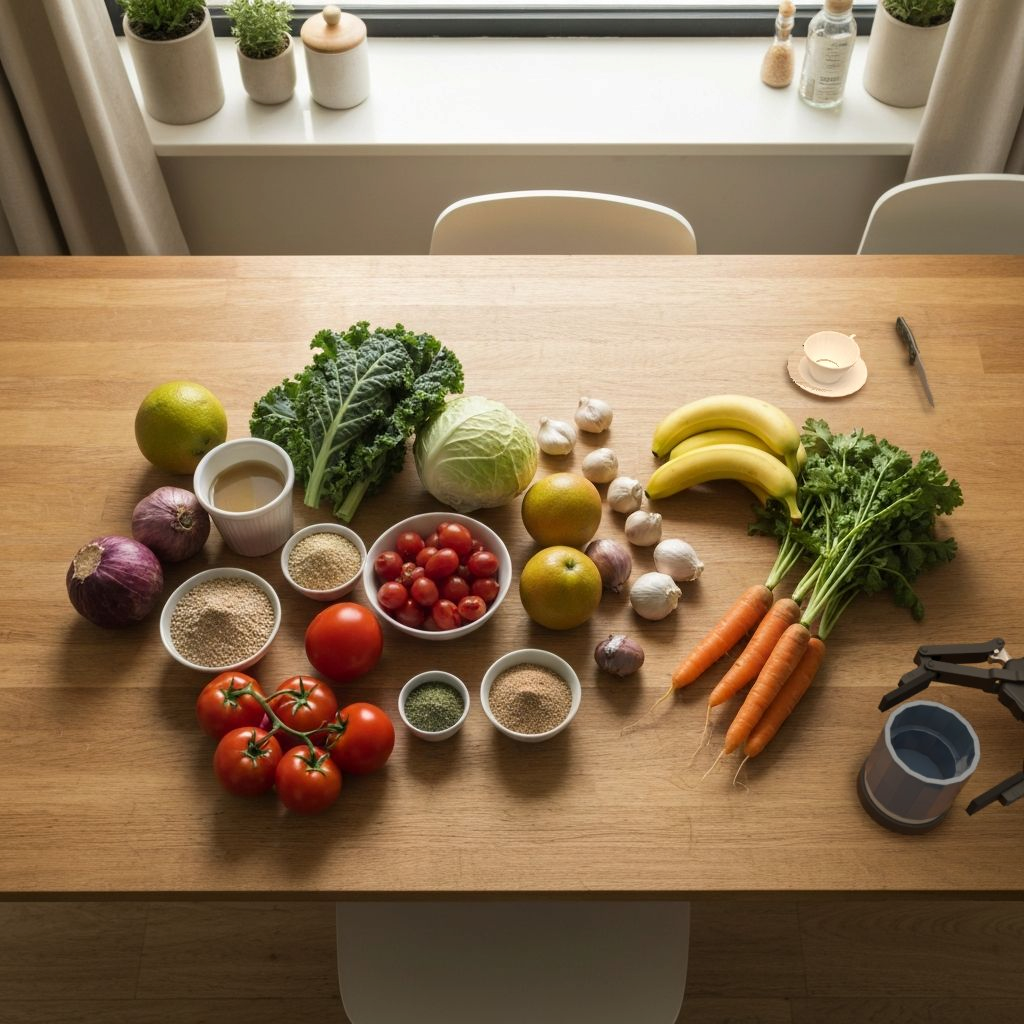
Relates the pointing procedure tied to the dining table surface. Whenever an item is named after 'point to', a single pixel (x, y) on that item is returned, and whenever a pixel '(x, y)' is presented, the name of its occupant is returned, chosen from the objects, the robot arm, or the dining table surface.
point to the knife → (914, 356)
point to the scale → (890, 818)
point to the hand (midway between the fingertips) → (925, 754)
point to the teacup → (832, 364)
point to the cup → (922, 759)
